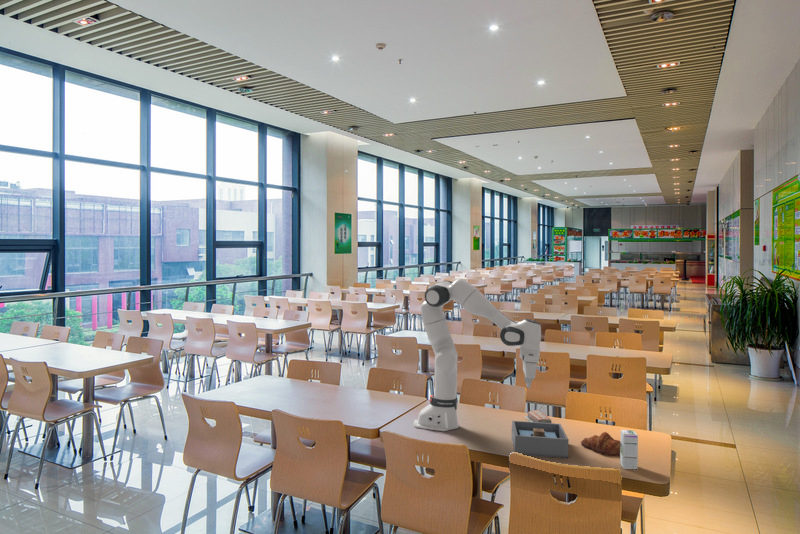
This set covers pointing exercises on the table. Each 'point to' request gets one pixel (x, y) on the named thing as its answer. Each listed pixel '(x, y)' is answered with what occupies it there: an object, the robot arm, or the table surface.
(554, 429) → the open box
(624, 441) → the syrup box
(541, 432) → the peg
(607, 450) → the pastry
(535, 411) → the packaged product
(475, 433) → the table surface
